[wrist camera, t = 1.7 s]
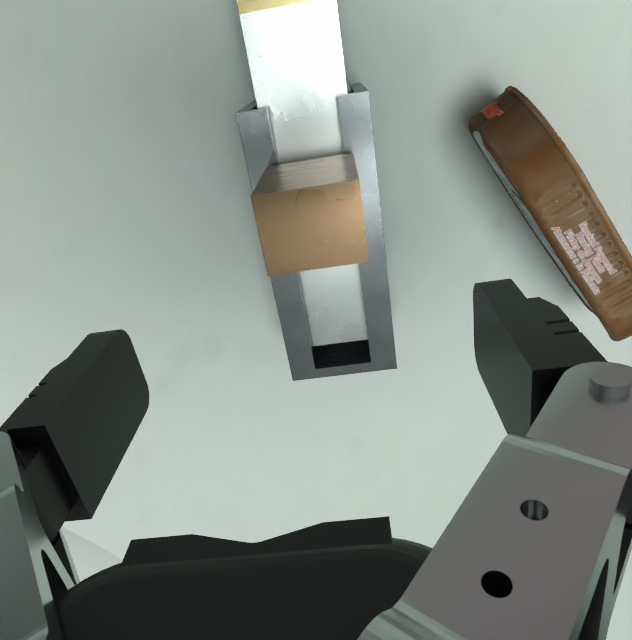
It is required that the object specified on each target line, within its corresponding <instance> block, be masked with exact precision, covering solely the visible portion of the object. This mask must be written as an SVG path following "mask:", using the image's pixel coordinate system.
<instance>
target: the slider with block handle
mask: <svg viewBox="0 0 632 640" xmlns="http://www.w3.org/2000/svg"><path fill="white" fill-rule="evenodd" d="M237 5H238V10H239V16H240V21H241V26H242V31H243V36H244V41H245V46H246V51H247V56H248V62H249V67H250V72H251V77H252V82H253V87H254V92H255V97H256V103H257V108H264V107H268V113H269V118H270V123H271V129H272V134H273V139H274V145H275V150H276V155H277V161H278V165H273V166H267V167H266V169H265V170H264V172H263V174H262V176H261V178H260V180H259V181H258V183H257V185H256V187H255V189H254V191H253V193H252V194H251V200H252V205H253V209H254V214H255V219H256V223H257V228H258V232H259V237H260V242H261V246H262V251H263V255H264V260H265V265H266V269H267V274H268V276H271V275H279V274H286V273H293V272H298V273H299V278H300V284H301V289H302V294H303V300H304V305H305V310H306V316H307V321H308V326H309V332H310V337H311V342H312V346H318V345H326V344H334V343H342V342H350V341H358V340H366V339H368V334H367V326H366V319H365V311H364V303H363V295H362V288H361V280H360V272H359V264H358V263H365V262H369V258H368V249H367V241H366V232H365V224H364V216H363V207H362V199H361V190H360V182H359V176H358V172H357V167H356V163H355V159H354V154H353V153H349V154H344V148H343V140H342V132H341V125H340V117H339V109H338V101H337V95H341V94H347V85H346V76H345V68H344V59H343V51H342V43H341V34H340V26H339V18H338V9H337V1H336V0H237Z"/></svg>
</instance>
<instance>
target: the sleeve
mask: <svg viewBox="0 0 632 640" xmlns="http://www.w3.org/2000/svg"><path fill="white" fill-rule="evenodd" d="M337 101H338V109H339V117H340V125H341V132H342V140H343V148H344V154H349V153H353V154H354V159H355V163H356V167H357V172H358V176H359V182H360V190H361V199H362V207H363V216H364V224H365V232H366V241H367V249H368V258H369V262H365V263H358V264H359V272H360V280H361V288H362V295H363V303H364V311H365V319H366V326H367V334H368V339H366V340H358V341H350V342H342V343H334V344H326V345H318V346H312V342H311V337H310V332H309V326H308V321H307V316H306V310H305V305H304V300H303V294H302V289H301V284H300V278H299V273H298V272H293V273H286V274H279V275H271V281H272V285H273V290H274V295H275V299H276V304H277V309H278V313H279V318H280V323H281V327H282V332H283V337H284V341H285V346H286V351H287V355H288V360H289V365H290V369H291V374H292V379H293V381H295V380H303V379H312V378H320V377H328V376H337V375H345V374H354V373H362V372H370V371H379V370H387V369H396V368H397V364H396V355H395V345H394V335H393V325H392V316H391V306H390V296H389V286H388V277H387V267H386V257H385V247H384V238H383V228H382V218H381V208H380V199H379V189H378V179H377V169H376V160H375V150H374V140H373V130H372V121H371V111H370V101H369V91H368V90H367V89H366V88H365V87H364V86H363V85H362V84H361V83H359V84H353V85H347V94H341V95H337ZM236 118H237V122H238V127H239V132H240V136H241V141H242V146H243V150H244V155H245V160H246V164H247V169H248V174H249V178H250V183H251V188H252V192H253V191H254V189H255V187H256V185H257V183H258V181H259V180H260V178H261V176H262V174H263V172H264V170H265V169H266V167H267V166H273V165H278V161H277V155H276V150H275V145H274V139H273V134H272V129H271V123H270V118H269V113H268V107H264V108H257V103H256V101H254V102H252V103H250V104H249V105H247V106H246V107H244V108H243V109H241V110H240V111H238V112H237V113H236Z"/></svg>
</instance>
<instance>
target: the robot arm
mask: <svg viewBox="0 0 632 640" xmlns="http://www.w3.org/2000/svg"><path fill="white" fill-rule="evenodd" d="M473 309H474V348H475V357H476V362H477V366H478V370H479V373H480V375H481V377H482V379H483V382H484V384H485V386H486V388H487V390H488V392H489V395H490V397H491V399H492V401H493V403H494V405H495V408H496V410H497V412H498V414H499V416H500V418H501V421H502V423H503V425H504V427H505V429H506V432H507V434H508V435H507V436H506V437H505V438H504V439H503V441H502V442H501V444H500V445H499V447H498V449H497V450H496V452H495V453H494V455H493V456H492V458H491V459H490V461H489V462H488V464H487V466H486V467H485V469H484V470H483V472H482V473H481V475H480V476H479V478H478V479H477V481H476V483H475V484H474V486H473V487H472V489H471V490H470V492H469V493H468V495H467V496H466V498H465V500H464V501H463V503H462V504H461V506H460V507H459V509H458V510H457V512H456V513H455V515H454V517H453V518H452V520H451V521H450V523H449V524H448V526H447V527H446V529H445V530H444V532H443V534H442V535H441V537H440V538H439V540H438V541H437V543H436V544H435V546H434V547H433V548H430V547H428V546H425V545H422V544H419V543H415V542H411V541H408V540H403V539H397V538H392V536H391V528H390V521H389V517H379V518H368V519H357V520H346V521H335V522H324V523H320V524H317V525H314V526H310V527H307V528H304V529H301V530H297V531H294V532H291V533H288V534H284V535H281V536H278V537H275V538H272V539H268V540H265V541H262V542H257V543H246V542H240V541H233V540H226V539H220V538H213V537H206V536H200V535H193V534H191V535H180V536H169V537H158V538H147V539H136V540H131V542H130V544H129V547H128V549H127V552H126V554H125V557H124V559H123V562H122V563H119V564H117V565H114V566H111V567H109V568H107V569H104V570H102V571H100V572H98V573H96V574H94V575H92V576H90V577H88V578H87V579H84V580H83V581H81V582H80V580H79V577H78V574H77V571H76V568H75V565H74V563H73V559H72V556H71V554H70V551H69V548H68V545H67V542H66V540H65V538H64V536H63V534H62V532H61V530H60V528H61V527H62V525H63V523H64V521H75V520H85V519H92V517H93V515H94V513H95V511H96V509H97V507H98V505H99V503H100V501H101V499H102V497H103V495H104V493H105V491H106V489H107V487H108V486H109V484H110V482H111V480H112V478H113V476H114V474H115V472H116V470H117V468H118V466H119V464H120V462H121V460H122V458H123V456H124V454H125V452H126V451H127V449H128V447H129V445H130V443H131V441H132V439H133V437H134V435H135V433H136V431H137V429H138V427H139V425H140V423H141V421H142V419H143V417H144V415H145V414H146V412H147V409H148V405H149V390H148V385H147V382H146V380H145V377H144V374H143V372H142V369H141V366H140V363H139V361H138V358H137V355H136V353H135V350H134V347H133V345H132V342H131V339H130V337H129V335H128V334H127V333H126V332H125V331H124V330H122V329H120V330H112V331H105V332H97V333H90V334H88V335H87V336H86V337H85V339H84V340H83V341H82V342H81V343H80V344H79V346H78V347H77V348H76V349H75V350H74V351H73V353H72V354H71V355H70V356H69V357H68V358H67V359H66V360H64V361H63V362H61V363H60V364H58V365H57V366H56V367H54V368H53V369H51V370H50V371H49V373H48V374H47V375H46V376H45V377H44V378H43V379H42V380H41V382H40V383H39V386H36V387H35V388H34V390H33V391H32V392H31V393H30V394H29V398H26V399H25V400H24V401H23V402H22V403H21V404H20V405H19V407H18V408H17V409H16V410H15V411H14V412H13V413H12V415H11V416H10V417H9V418H8V419H7V420H6V421H5V422H4V424H3V425H2V426H1V427H0V640H606V635H607V631H608V627H609V623H610V619H611V615H612V611H613V608H614V605H615V601H616V598H617V595H618V592H619V588H620V585H621V582H622V578H623V575H624V572H625V569H626V565H627V562H628V559H629V556H630V552H631V549H632V367H630V366H627V365H623V364H618V363H612V362H607V361H606V360H605V358H604V357H603V356H602V355H601V354H600V353H599V352H598V351H597V349H596V348H595V347H594V346H593V345H592V344H591V343H590V342H589V340H588V339H587V338H586V337H585V336H584V335H583V334H582V333H581V332H579V329H578V328H577V327H576V326H575V325H574V324H573V322H570V320H569V318H568V317H567V316H566V315H565V313H564V312H563V311H562V310H561V309H560V308H559V307H558V306H556V305H554V304H552V303H550V302H548V301H546V300H544V299H542V298H540V297H536V298H528V299H527V298H526V297H525V296H524V295H523V293H522V292H521V291H520V289H519V288H518V287H517V286H516V284H515V283H514V282H513V281H512V280H511V279H504V280H497V281H489V282H482V283H476V284H475V285H474V290H473Z"/></svg>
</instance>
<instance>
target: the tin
mask: <svg viewBox="0 0 632 640" xmlns="http://www.w3.org/2000/svg"><path fill="white" fill-rule="evenodd" d="M469 130H470V133H471V135H472V136H473V138H474V140H475V142H476V143H477V145H478V147H479V148H480V150H481V152H482V153H483V155H484V156H485V158H486V159H487V161H488V163H489V164H490V166H491V167H492V169H493V170H494V172H495V173H496V175H497V177H498V178H499V180H500V181H501V183H502V184H503V186H504V188H505V189H506V191H507V192H508V194H509V195H510V197H511V199H512V200H513V202H514V203H515V205H516V207H517V208H518V210H519V211H520V213H521V214H522V216H523V217H524V219H525V220H526V222H527V223H528V225H529V226H530V228H531V229H532V231H533V232H534V234H535V235H536V237H537V238H538V240H539V241H540V243H541V244H542V246H543V247H544V249H545V250H546V251H547V253H548V254H549V256H550V257H551V259H552V260H553V262H554V263H555V264H556V266H557V267H558V269H559V270H560V272H561V273H562V275H563V276H564V277H565V279H566V280H567V282H568V283H569V284H570V286H571V287H572V289H573V290H574V291H575V293H576V294H577V296H578V297H579V298H580V300H581V301H582V302H583V304H584V305H585V306H586V307H587V308H588V309H589V310H590V311H591V312H593V313H594V314H595V315H596V316H597V317H598V318H599V320H600V321H601V323H602V324H603V326H604V328H605V329H606V331H607V332H608V334H609V336H610V338H611V339H612V340H613V341H620V340H623V339H625V338H627V337H630V336H632V256H631V254H630V253H629V251H628V249H627V247H626V246H625V244H624V242H623V241H622V239H621V237H620V235H619V234H618V232H617V230H616V229H615V227H614V225H613V223H612V222H611V220H610V218H609V217H608V215H607V213H606V211H605V209H604V208H603V206H602V204H601V203H600V201H599V199H598V198H597V196H596V194H595V192H594V190H593V189H592V187H591V185H590V183H589V182H588V180H587V178H586V177H585V175H584V173H583V171H582V170H581V168H580V166H579V165H578V163H577V162H576V160H575V159H574V157H573V156H572V154H571V153H570V152H569V150H568V149H567V147H566V146H565V144H564V142H563V141H562V140H561V138H560V137H559V136H558V135H557V133H556V132H555V131H554V129H553V128H552V126H551V125H550V124H549V123H548V121H547V120H546V118H545V117H544V116H543V115H542V114H541V112H540V111H539V110H538V109H537V108H536V107H535V106H534V105H533V103H532V102H531V101H530V100H529V99H528V98H527V97H526V96H525V95H524V94H523V93H521V92H520V91H519V90H518V89H517V88H515V87H512V86H509V87H507V88H506V89H505V92H504V93H502V94H501V95H500V96H499V97H497V98H496V99H495V100H494V101H492V102H491V103H490V104H488V105H487V106H485V107H484V108H483V109H482V110H480V111H479V112H478V113H477V114H476V115H475V116H474V117H473V118H472V119H471V120H470V123H469Z"/></svg>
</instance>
